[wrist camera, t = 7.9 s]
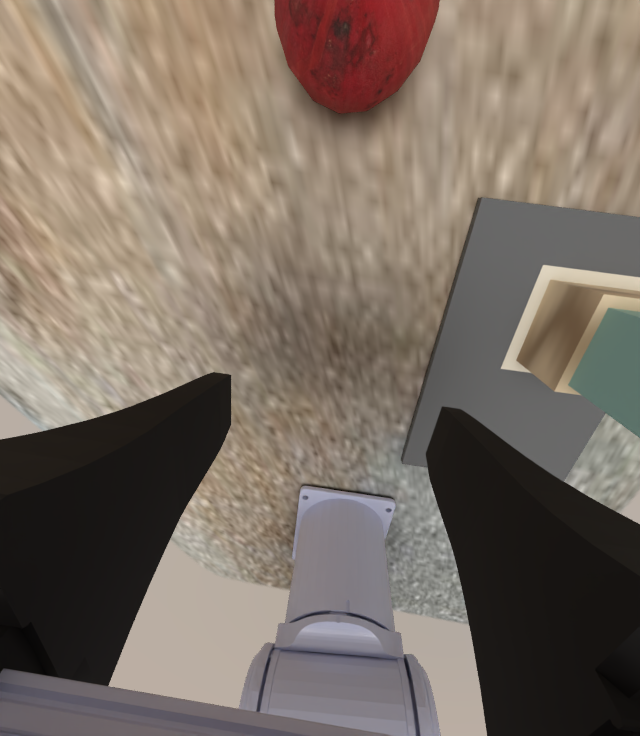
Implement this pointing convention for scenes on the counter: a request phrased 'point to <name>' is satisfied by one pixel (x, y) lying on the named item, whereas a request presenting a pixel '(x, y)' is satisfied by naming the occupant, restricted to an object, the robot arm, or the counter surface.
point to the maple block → (568, 329)
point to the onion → (353, 47)
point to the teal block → (613, 368)
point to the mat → (519, 326)
